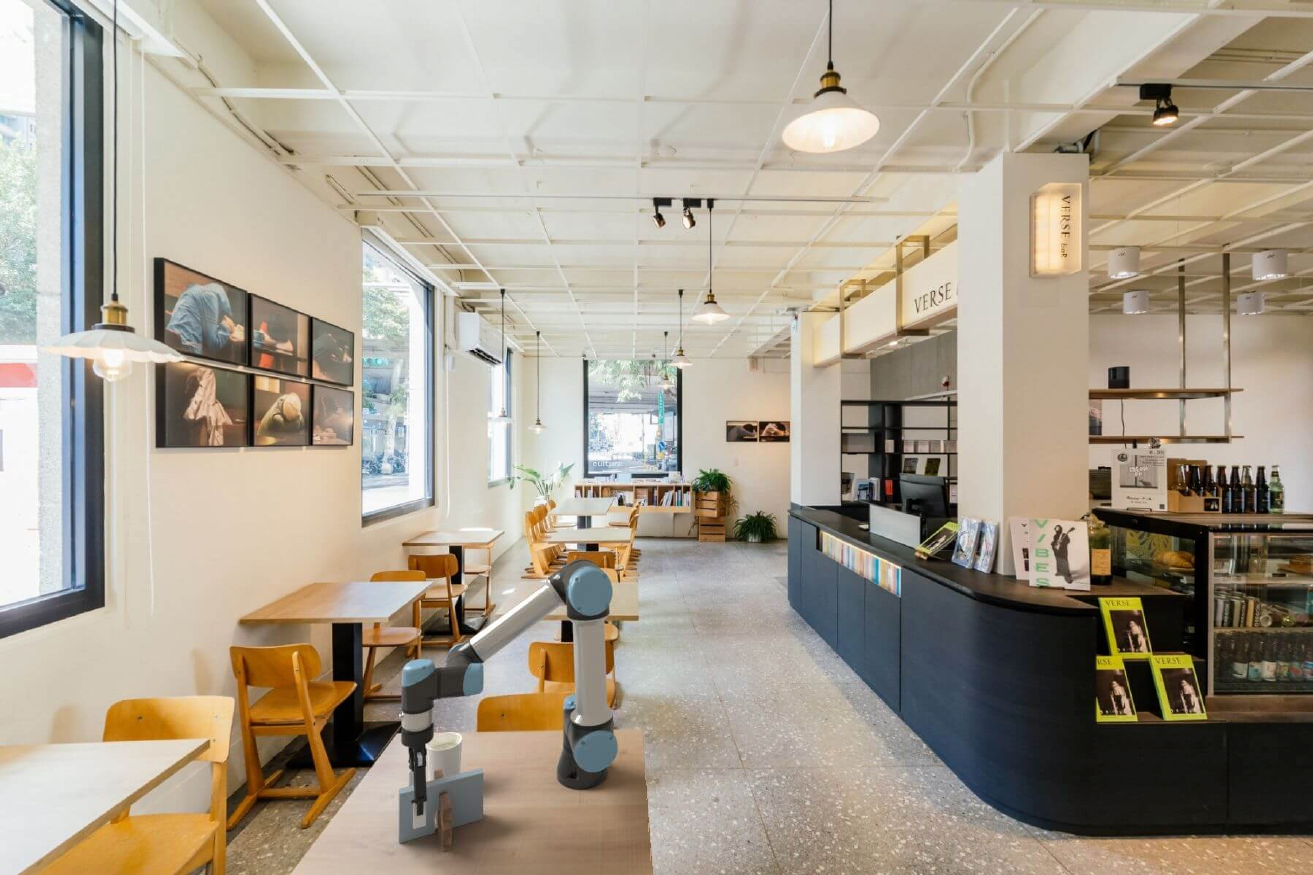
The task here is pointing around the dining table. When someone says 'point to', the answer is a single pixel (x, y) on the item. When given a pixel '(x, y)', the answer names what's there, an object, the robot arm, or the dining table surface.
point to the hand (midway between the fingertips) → (416, 810)
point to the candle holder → (444, 754)
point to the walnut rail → (444, 816)
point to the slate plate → (462, 796)
